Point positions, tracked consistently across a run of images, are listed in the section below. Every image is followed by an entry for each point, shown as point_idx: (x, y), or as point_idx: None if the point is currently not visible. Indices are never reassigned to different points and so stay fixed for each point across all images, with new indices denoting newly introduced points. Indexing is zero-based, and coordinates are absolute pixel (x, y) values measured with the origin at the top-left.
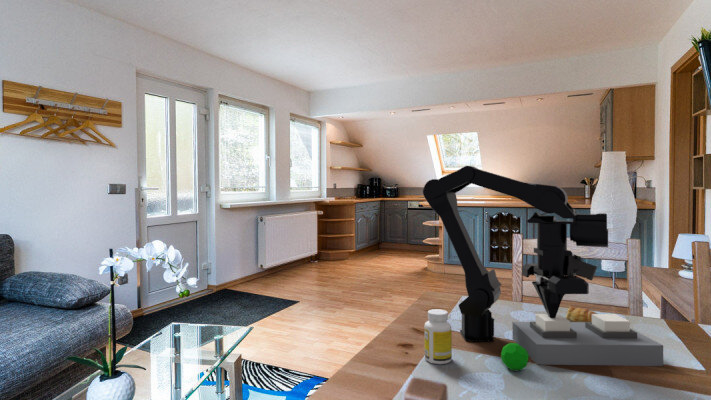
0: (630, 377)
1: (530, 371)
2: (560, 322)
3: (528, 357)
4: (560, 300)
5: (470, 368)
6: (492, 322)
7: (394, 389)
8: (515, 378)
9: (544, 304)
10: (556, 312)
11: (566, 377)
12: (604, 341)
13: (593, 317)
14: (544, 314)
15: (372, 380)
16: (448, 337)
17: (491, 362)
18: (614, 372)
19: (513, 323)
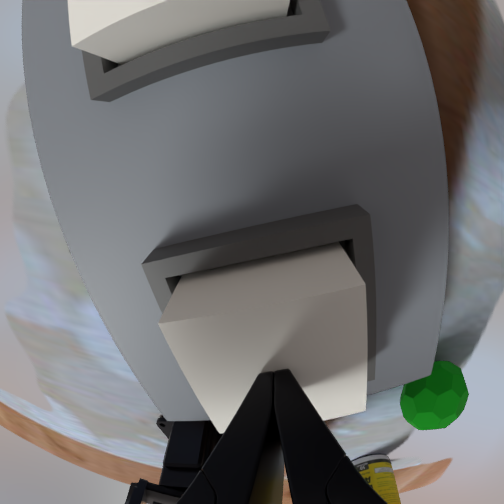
0: (459, 63)
1: (440, 343)
2: (365, 339)
3: (451, 372)
4: (373, 490)
5: (408, 429)
6: (203, 458)
7: (447, 459)
8: (462, 366)
9: (282, 487)
10: (305, 398)
11: (478, 263)
12: (381, 58)
13: (110, 36)
14: (212, 403)
15: (421, 477)
16: (394, 494)
17: (383, 411)
18: (438, 92)
19: (178, 418)
